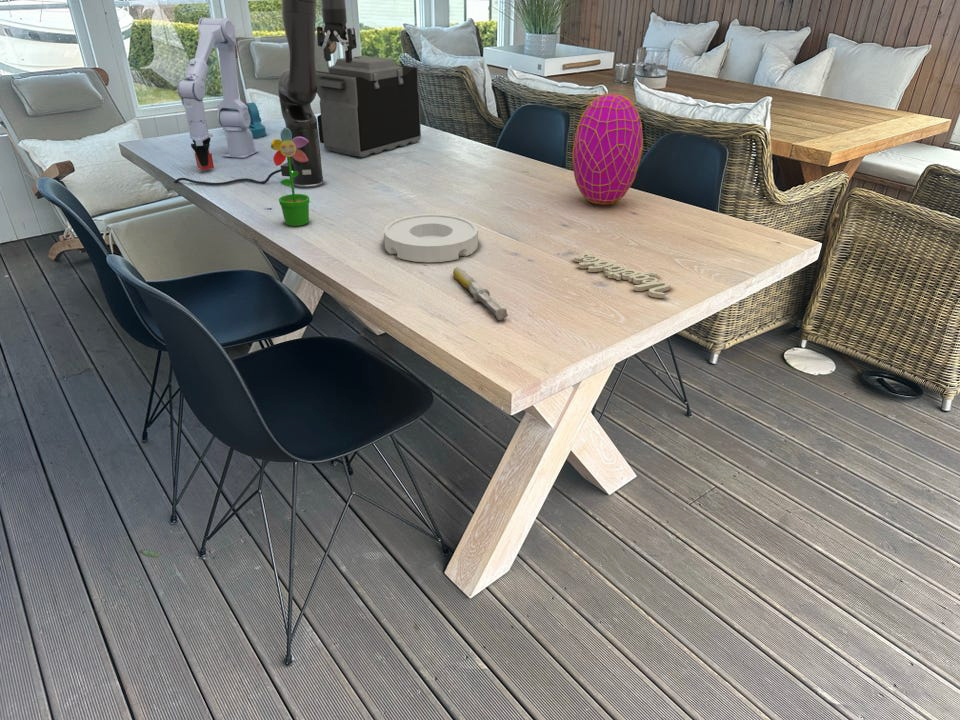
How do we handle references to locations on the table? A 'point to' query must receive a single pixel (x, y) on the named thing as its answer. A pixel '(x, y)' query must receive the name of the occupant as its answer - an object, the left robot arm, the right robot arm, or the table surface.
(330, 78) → the cooler box
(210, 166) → the block
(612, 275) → the decorative sign
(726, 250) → the table surface
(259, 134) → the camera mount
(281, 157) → the potted flower
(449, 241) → the ashtray
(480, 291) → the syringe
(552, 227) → the table surface
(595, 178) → the decorative egg
